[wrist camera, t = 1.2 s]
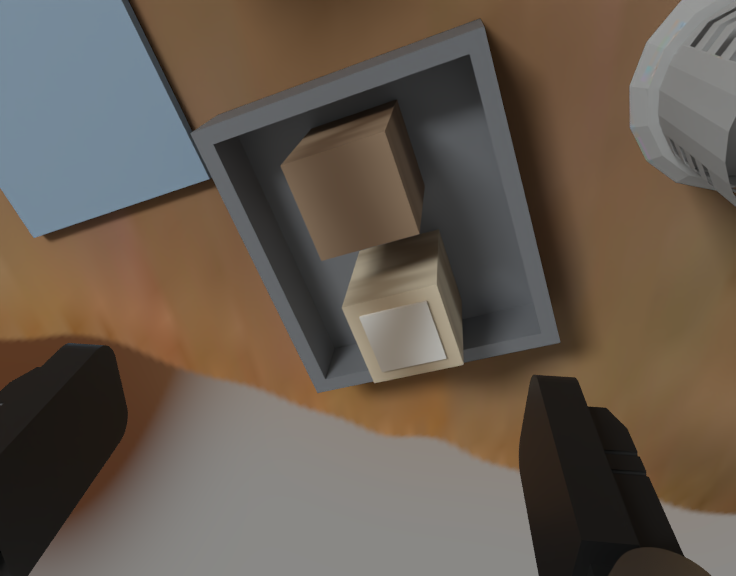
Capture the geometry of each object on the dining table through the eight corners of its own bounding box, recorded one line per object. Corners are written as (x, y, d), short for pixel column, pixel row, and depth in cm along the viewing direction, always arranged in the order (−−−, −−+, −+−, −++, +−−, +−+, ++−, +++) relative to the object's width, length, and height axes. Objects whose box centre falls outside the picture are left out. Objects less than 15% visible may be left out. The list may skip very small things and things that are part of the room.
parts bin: (480, 18, 26) (484, 26, 23) (549, 306, 32) (560, 342, 29) (217, 115, 29) (190, 133, 26) (329, 355, 36) (317, 392, 33)
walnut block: (397, 99, 27) (384, 131, 22) (424, 185, 29) (419, 234, 24) (311, 128, 28) (280, 165, 23) (343, 210, 30) (321, 260, 25)
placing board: (93, -71, 26) (86, -72, 25) (213, 175, 31) (209, 178, 30) (-98, 25, 29) (-108, 26, 29) (39, 233, 34) (33, 237, 34)
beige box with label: (438, 229, 30) (436, 285, 25) (461, 299, 32) (463, 366, 27) (359, 250, 31) (341, 309, 26) (385, 317, 33) (373, 385, 28)
